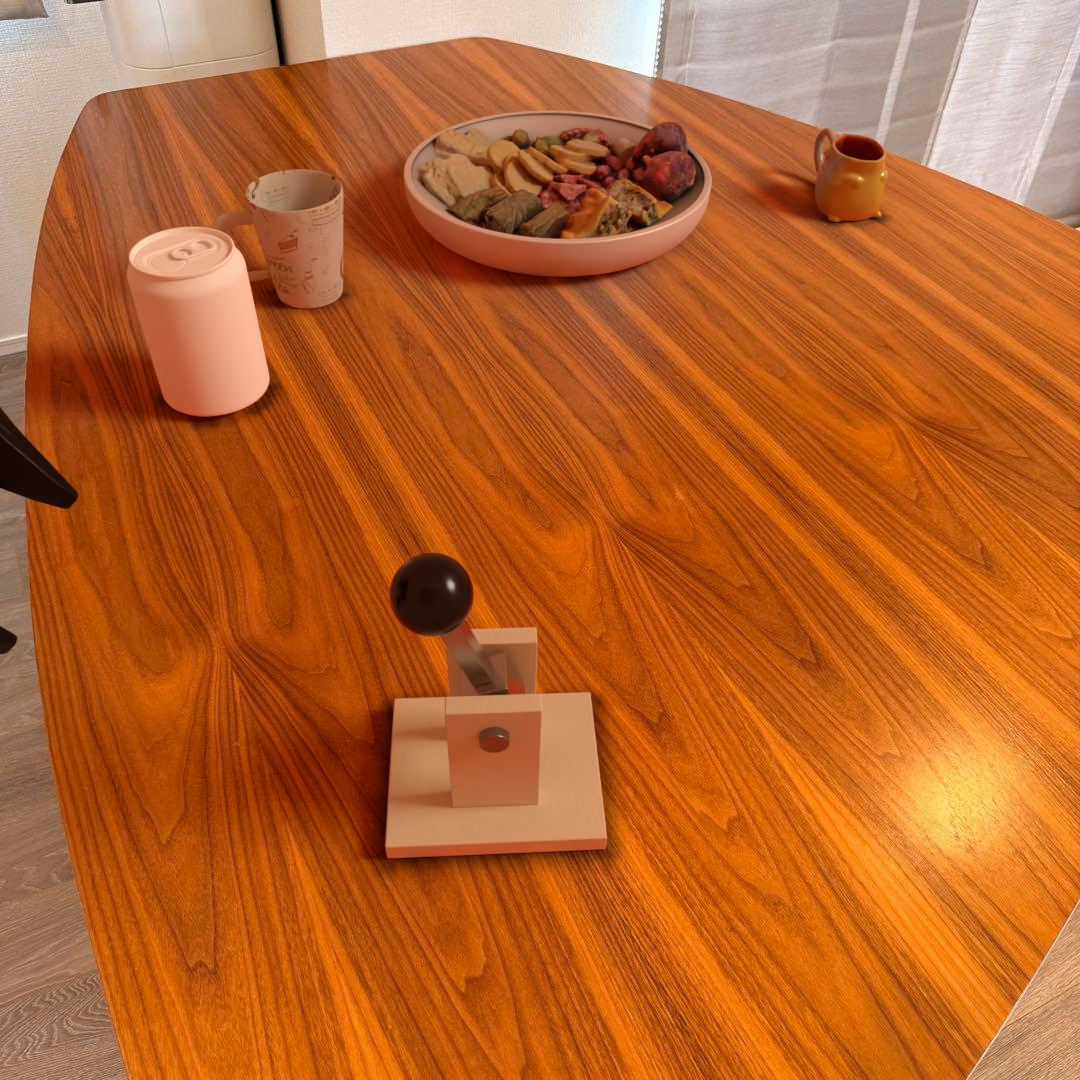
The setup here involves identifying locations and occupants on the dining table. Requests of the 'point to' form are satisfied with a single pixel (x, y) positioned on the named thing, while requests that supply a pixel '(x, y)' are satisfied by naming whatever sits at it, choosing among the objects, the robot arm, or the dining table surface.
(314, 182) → the mug
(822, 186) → the mug
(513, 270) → the bowl
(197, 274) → the beverage can
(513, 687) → the lever
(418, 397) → the dining table surface
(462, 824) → the bracket
